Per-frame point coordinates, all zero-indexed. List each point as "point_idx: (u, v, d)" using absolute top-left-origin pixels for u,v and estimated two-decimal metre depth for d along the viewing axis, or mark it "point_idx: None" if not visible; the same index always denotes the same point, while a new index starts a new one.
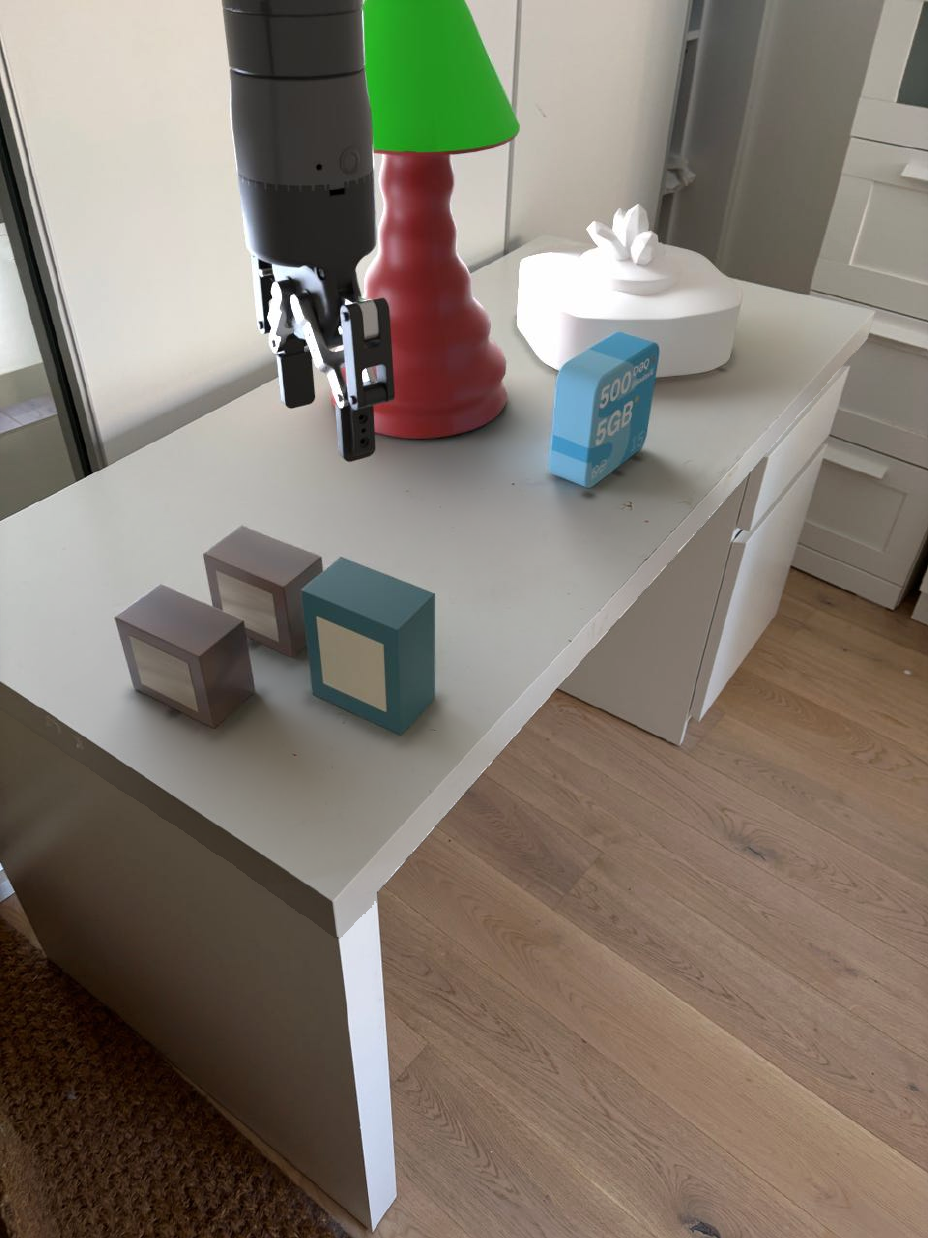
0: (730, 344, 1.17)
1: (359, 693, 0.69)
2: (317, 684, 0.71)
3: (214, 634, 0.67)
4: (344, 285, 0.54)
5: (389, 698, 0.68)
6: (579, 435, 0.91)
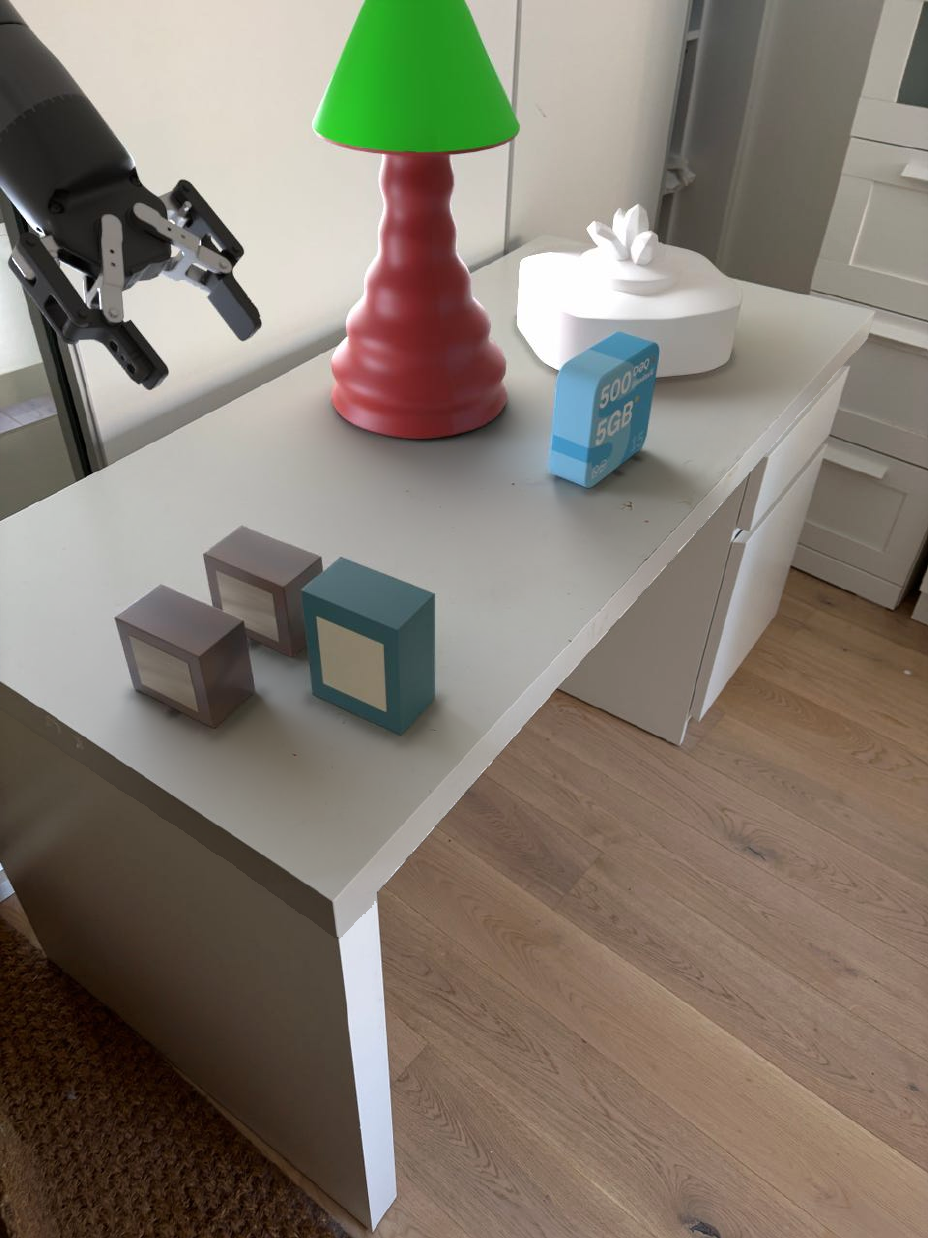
0: (730, 344, 1.17)
1: (359, 693, 0.69)
2: (317, 684, 0.71)
3: (214, 634, 0.67)
4: None
5: (389, 698, 0.68)
6: (579, 435, 0.91)
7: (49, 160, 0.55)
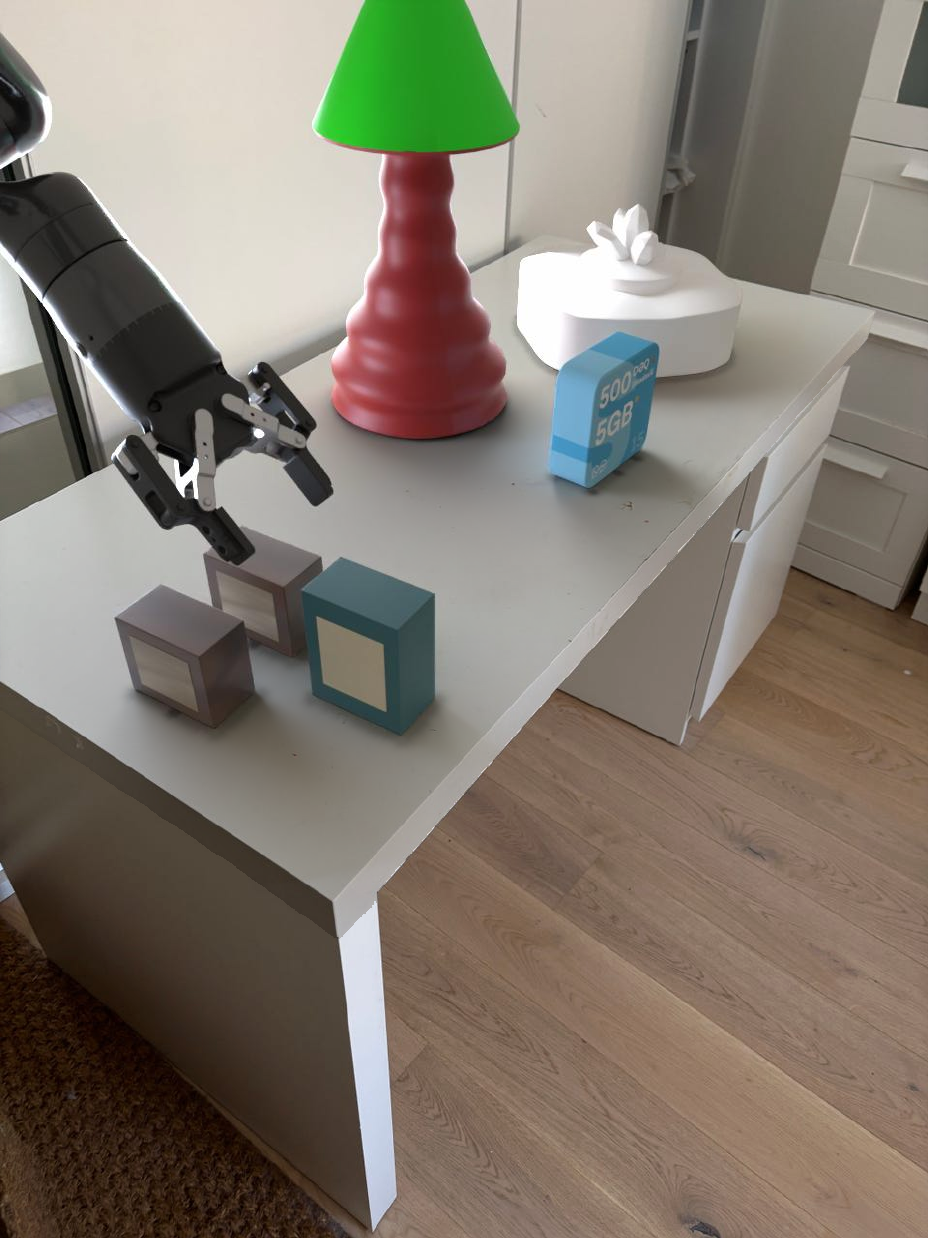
0: (730, 344, 1.17)
1: (359, 693, 0.69)
2: (317, 684, 0.71)
3: (214, 634, 0.67)
4: None
5: (389, 698, 0.68)
6: (579, 435, 0.91)
7: (150, 367, 0.61)
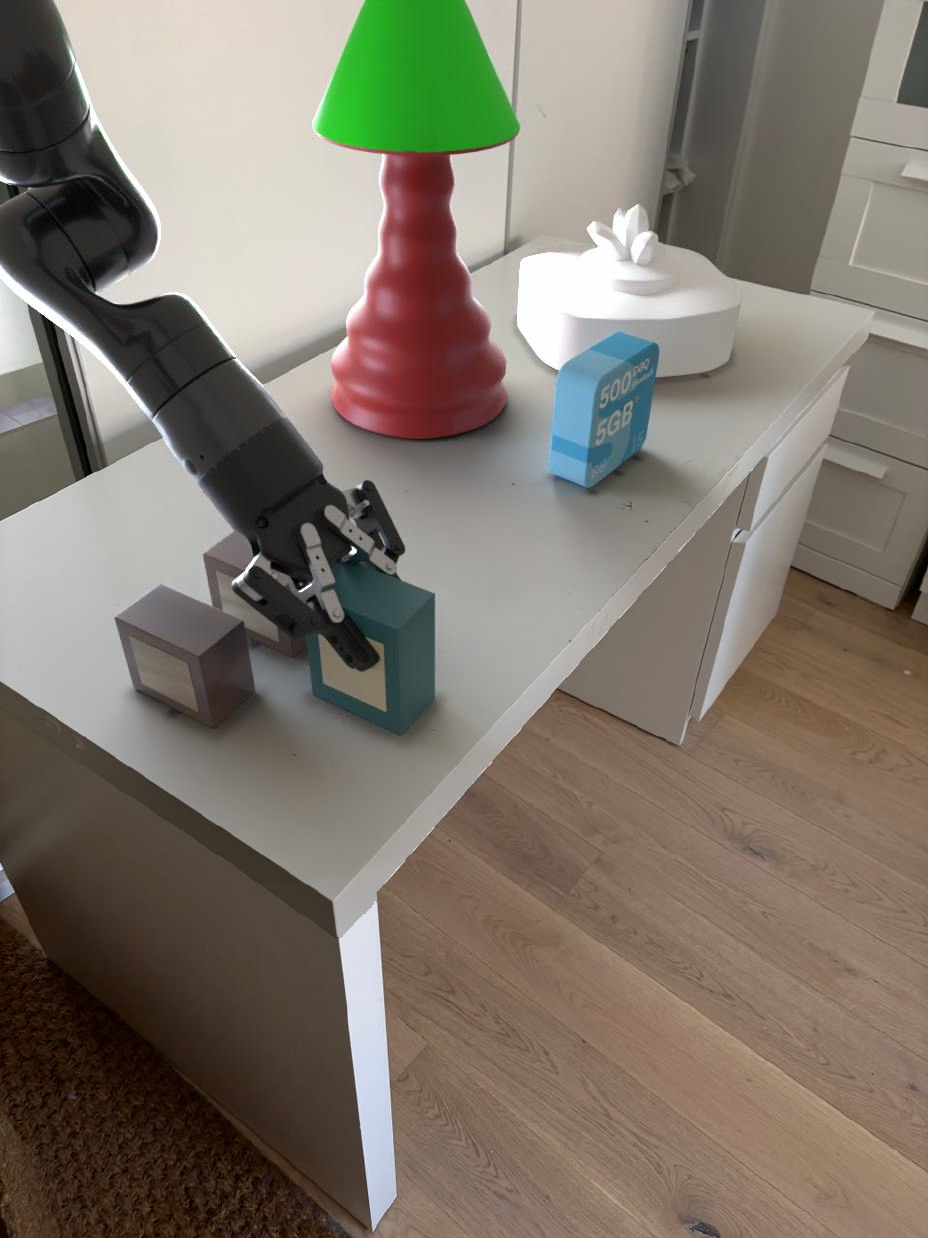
0: (730, 344, 1.17)
1: (359, 693, 0.69)
2: (317, 684, 0.71)
3: (214, 634, 0.67)
4: None
5: (389, 698, 0.68)
6: (579, 435, 0.91)
7: (260, 486, 0.62)
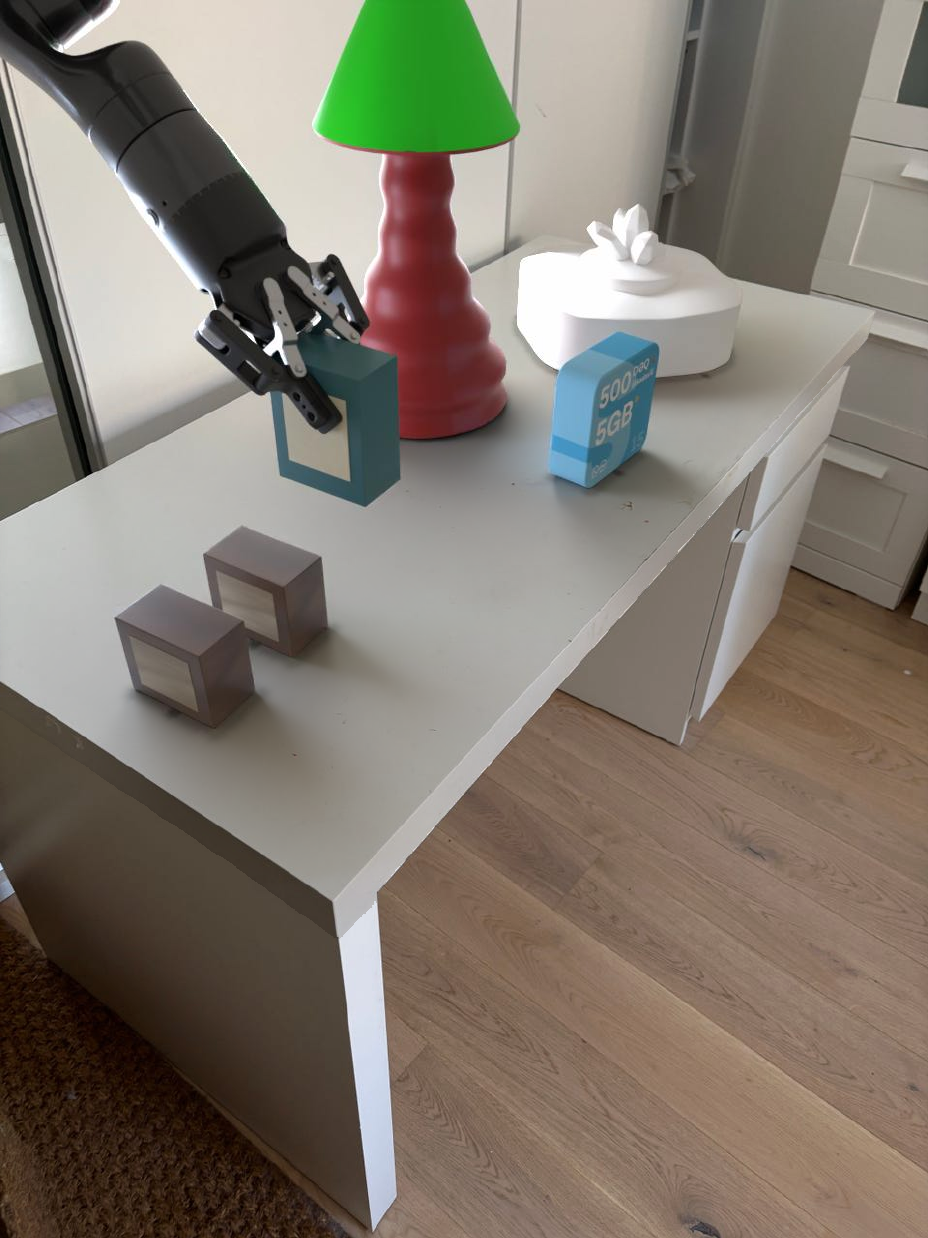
0: (730, 344, 1.17)
1: (324, 464, 0.70)
2: (283, 462, 0.72)
3: (214, 634, 0.67)
4: None
5: (353, 465, 0.68)
6: (579, 435, 0.91)
7: (222, 232, 0.62)
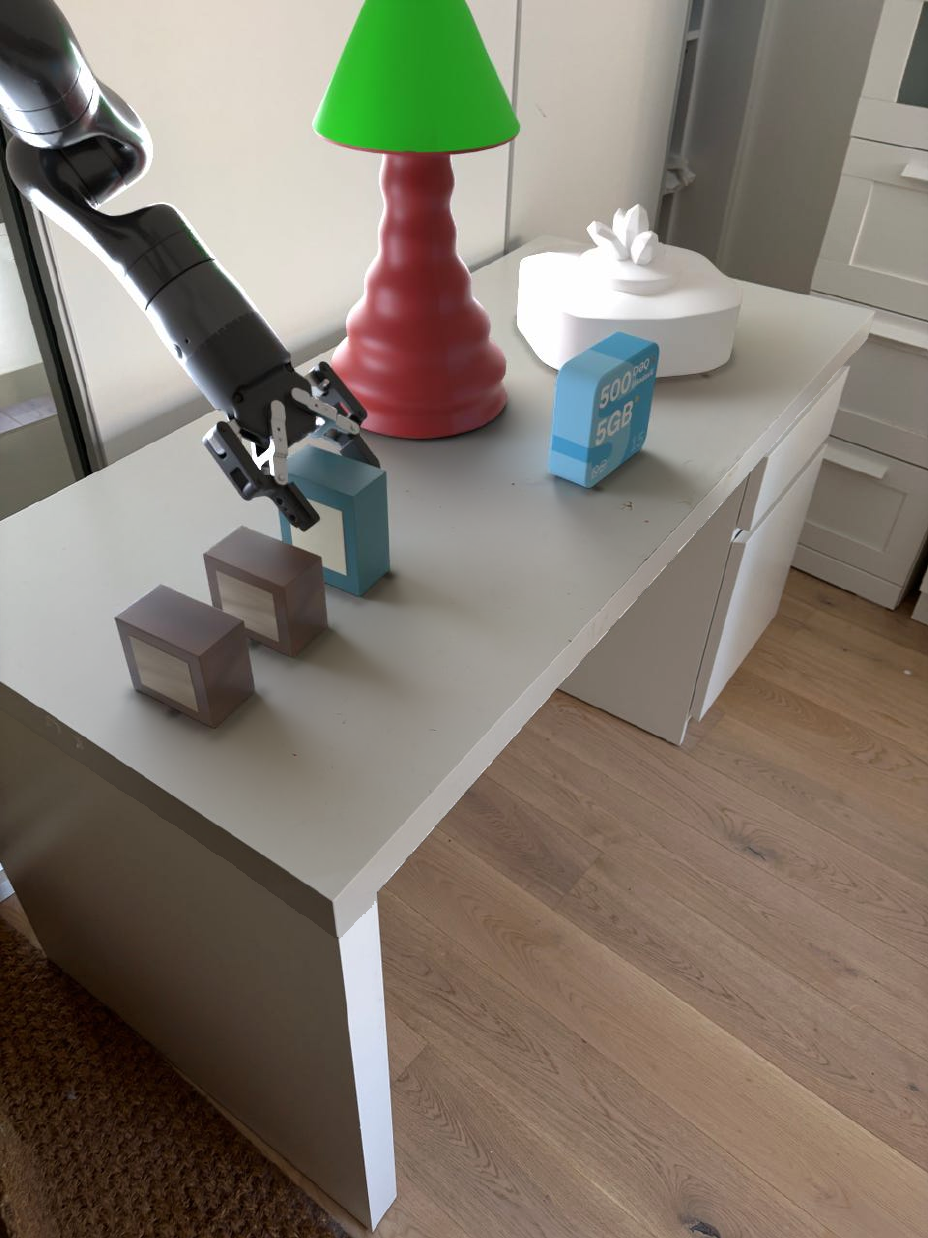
0: (730, 344, 1.17)
1: (324, 560, 0.81)
2: None
3: (214, 634, 0.67)
4: None
5: (348, 562, 0.80)
6: (579, 435, 0.91)
7: (236, 365, 0.73)
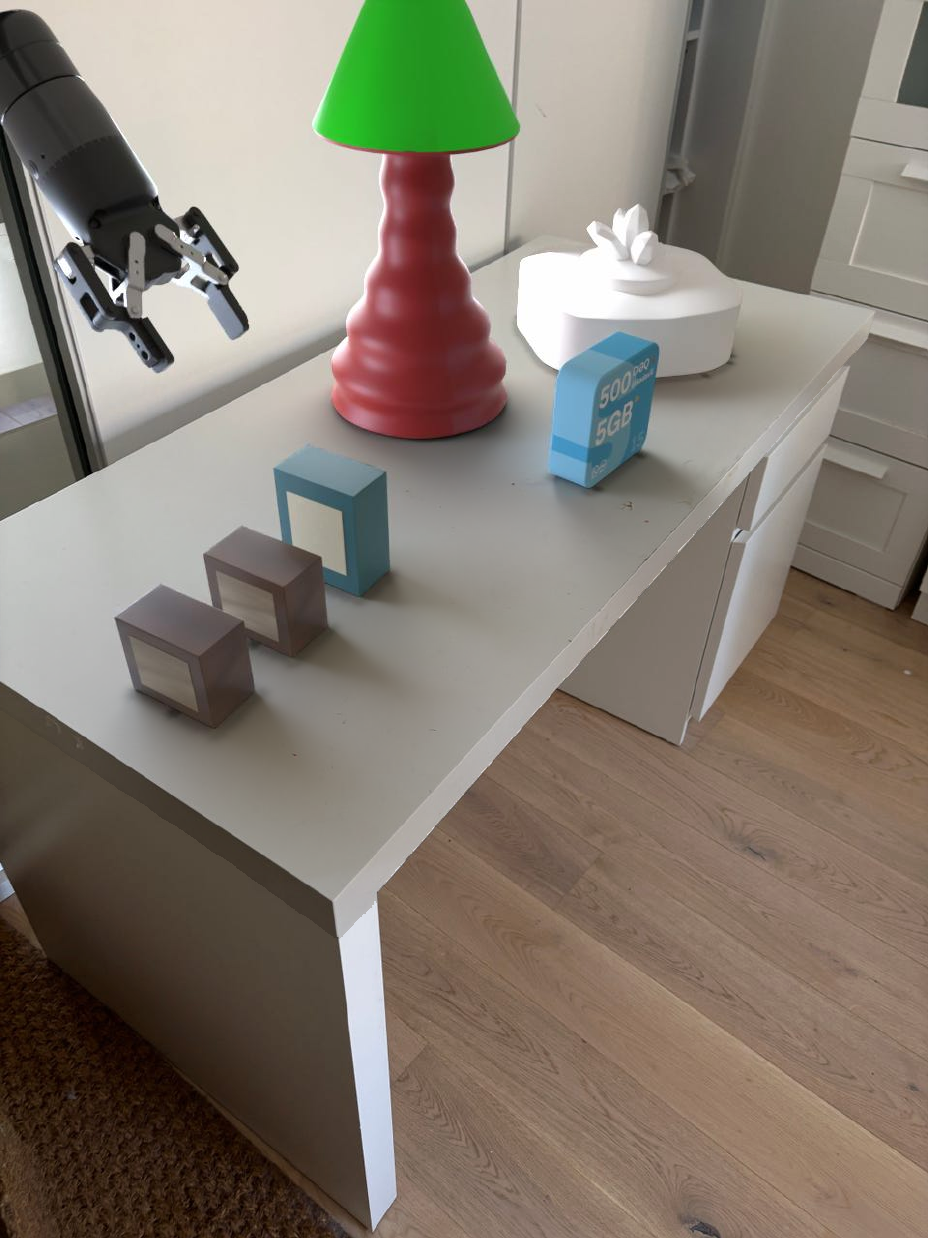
0: (730, 344, 1.17)
1: (324, 560, 0.81)
2: None
3: (214, 634, 0.67)
4: None
5: (348, 562, 0.80)
6: (579, 435, 0.91)
7: (93, 187, 0.70)
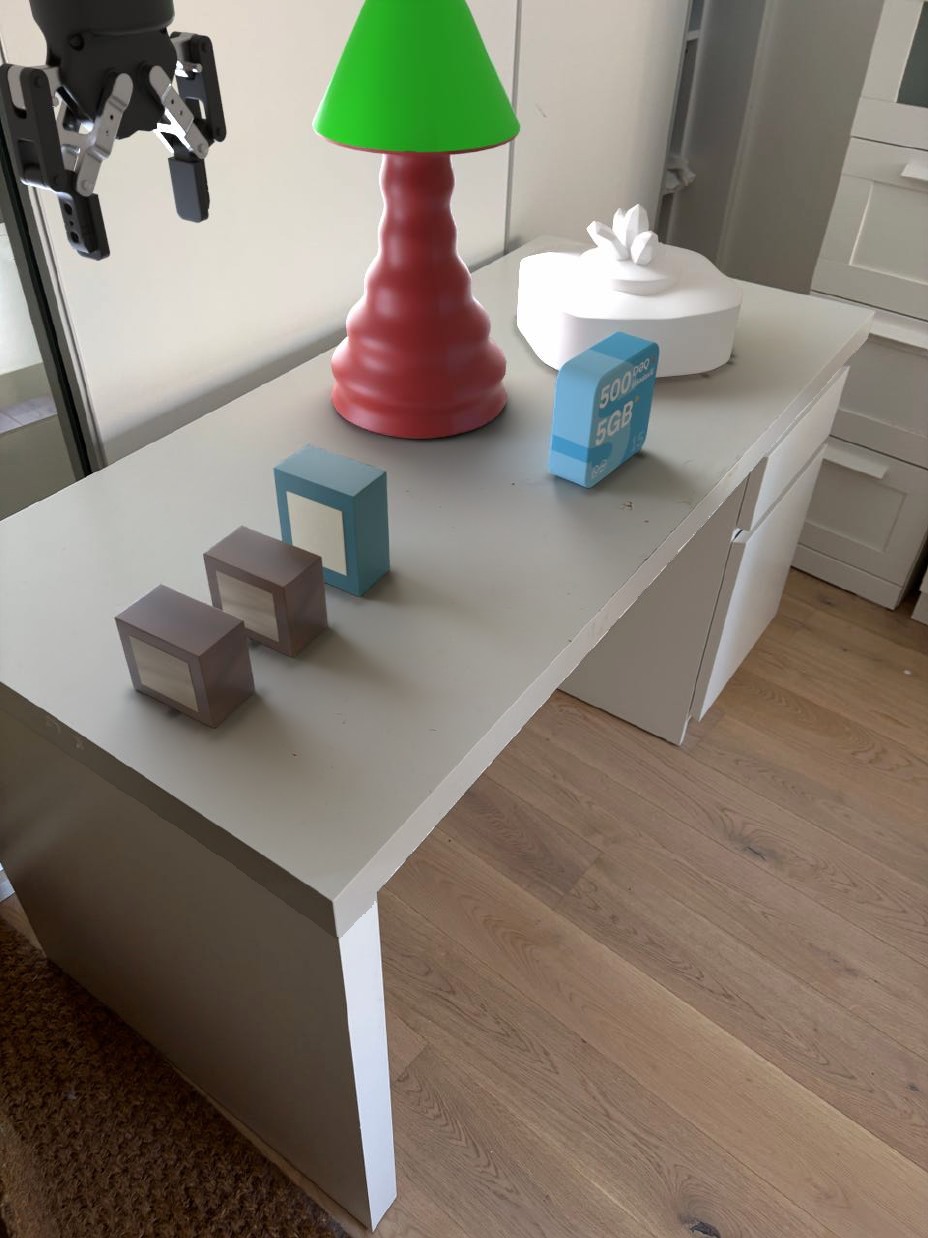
0: (730, 344, 1.17)
1: (324, 560, 0.81)
2: None
3: (214, 634, 0.67)
4: None
5: (348, 562, 0.80)
6: (579, 435, 0.91)
7: (97, 2, 0.50)
